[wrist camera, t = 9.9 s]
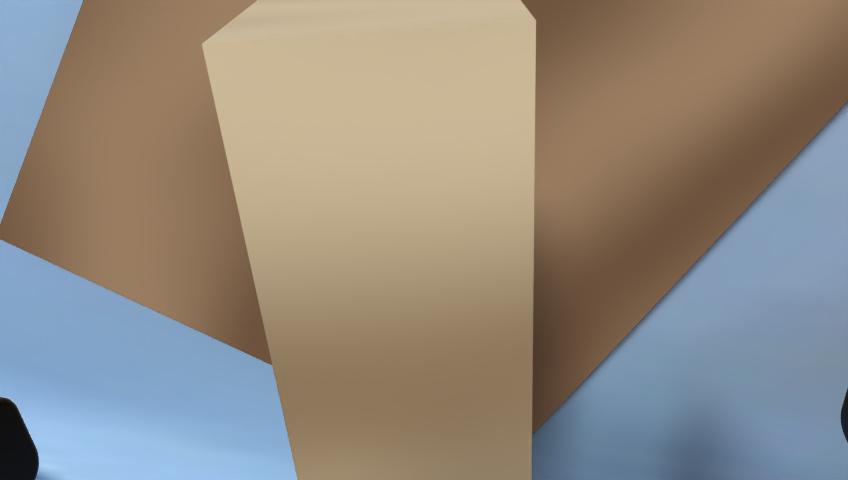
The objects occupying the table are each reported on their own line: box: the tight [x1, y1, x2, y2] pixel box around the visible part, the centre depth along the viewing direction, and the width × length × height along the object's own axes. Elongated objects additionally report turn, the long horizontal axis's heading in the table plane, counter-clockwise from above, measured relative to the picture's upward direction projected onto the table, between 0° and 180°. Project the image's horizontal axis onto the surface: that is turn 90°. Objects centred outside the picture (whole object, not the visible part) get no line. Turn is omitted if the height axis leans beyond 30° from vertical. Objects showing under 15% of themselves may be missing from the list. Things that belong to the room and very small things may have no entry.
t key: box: [202, 0, 536, 480], centre depth 11 cm, size 8×3×8 cm, turn 4°
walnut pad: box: [0, 0, 848, 435], centre depth 15 cm, size 14×14×1 cm
